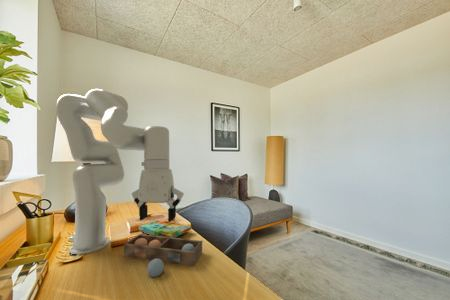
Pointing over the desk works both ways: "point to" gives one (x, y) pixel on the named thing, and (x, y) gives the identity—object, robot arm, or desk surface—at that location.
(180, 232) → the puzzle game
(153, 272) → the slate ball
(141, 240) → the tan rounded piece
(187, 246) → the blue-grey ball
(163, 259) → the divided wooden box
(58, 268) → the desk surface
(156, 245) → the terracotta ball
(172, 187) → the robot arm
